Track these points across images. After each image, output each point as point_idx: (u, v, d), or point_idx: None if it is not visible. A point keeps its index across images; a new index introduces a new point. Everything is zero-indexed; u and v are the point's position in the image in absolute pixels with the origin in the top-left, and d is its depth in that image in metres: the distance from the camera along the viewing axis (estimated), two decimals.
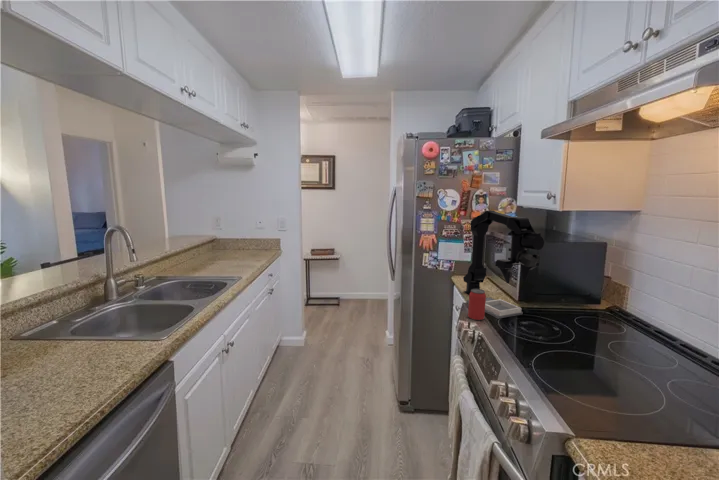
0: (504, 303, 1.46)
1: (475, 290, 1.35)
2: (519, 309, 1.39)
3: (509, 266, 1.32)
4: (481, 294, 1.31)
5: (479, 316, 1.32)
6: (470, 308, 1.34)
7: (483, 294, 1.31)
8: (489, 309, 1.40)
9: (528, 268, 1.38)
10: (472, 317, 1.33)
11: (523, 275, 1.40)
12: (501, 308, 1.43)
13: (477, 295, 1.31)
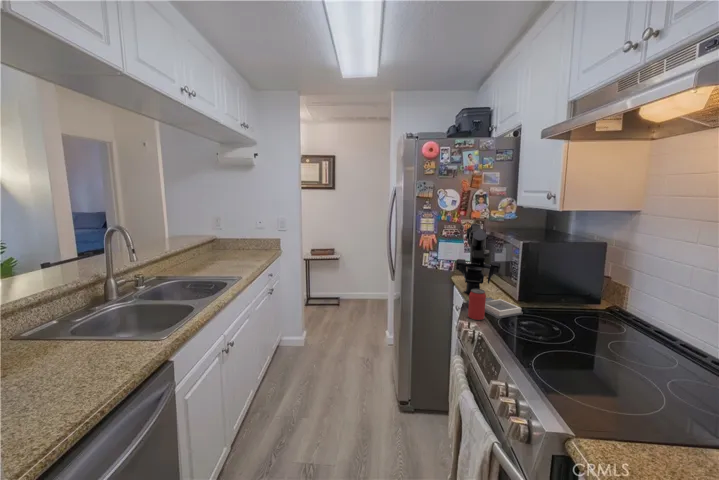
0: (504, 303, 1.46)
1: (475, 290, 1.35)
2: (519, 309, 1.39)
3: (461, 261, 1.45)
4: (481, 294, 1.31)
5: (479, 316, 1.32)
6: (470, 308, 1.34)
7: (483, 294, 1.31)
8: (489, 309, 1.40)
9: (489, 270, 1.42)
10: (472, 317, 1.33)
11: (488, 279, 1.42)
12: (501, 308, 1.43)
13: (477, 295, 1.31)
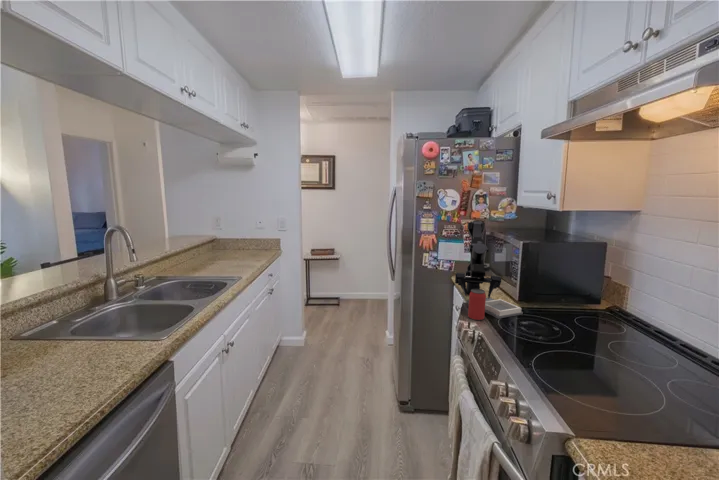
0: (504, 303, 1.46)
1: (475, 290, 1.35)
2: (519, 309, 1.39)
3: (460, 275, 1.39)
4: (481, 294, 1.31)
5: (479, 316, 1.32)
6: (470, 308, 1.34)
7: (483, 294, 1.31)
8: (489, 309, 1.40)
9: (490, 284, 1.36)
10: (472, 317, 1.33)
11: (488, 293, 1.36)
12: (501, 308, 1.43)
13: (477, 295, 1.31)
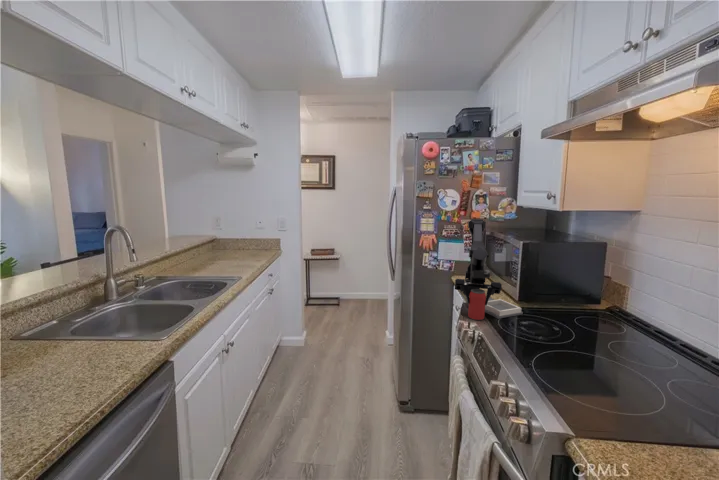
0: (504, 303, 1.46)
1: (475, 290, 1.35)
2: (519, 309, 1.39)
3: (460, 282, 1.37)
4: (481, 294, 1.31)
5: (479, 316, 1.32)
6: (470, 308, 1.34)
7: (483, 294, 1.31)
8: (489, 309, 1.40)
9: (487, 290, 1.34)
10: (472, 317, 1.33)
11: None
12: (501, 308, 1.43)
13: (477, 295, 1.31)
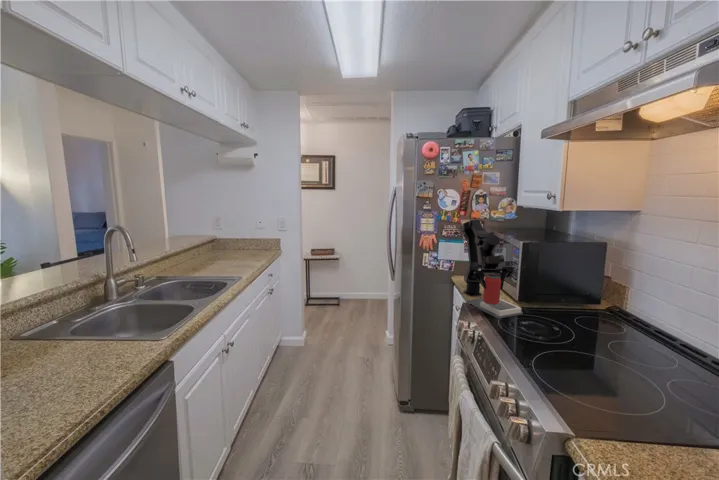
0: (504, 303, 1.46)
1: (490, 275, 1.37)
2: (519, 309, 1.39)
3: (475, 268, 1.38)
4: (498, 279, 1.33)
5: (496, 300, 1.34)
6: (487, 293, 1.35)
7: (499, 279, 1.34)
8: (489, 309, 1.40)
9: (501, 275, 1.37)
10: (489, 302, 1.35)
11: None
12: (501, 308, 1.43)
13: (494, 280, 1.33)
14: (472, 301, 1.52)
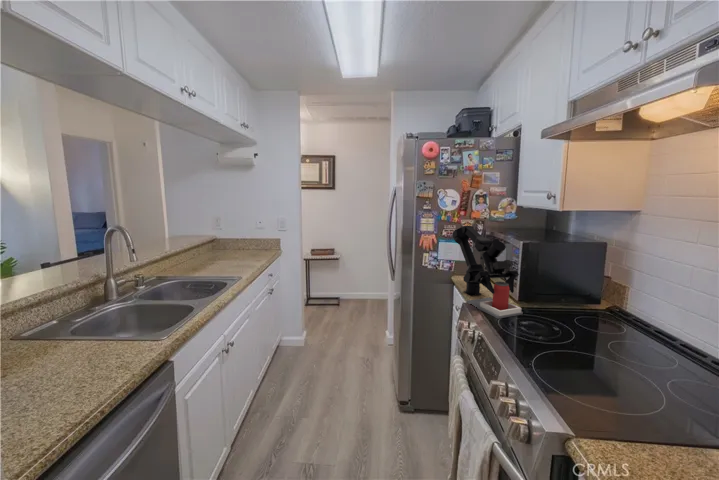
0: None
1: (498, 283, 1.42)
2: (519, 309, 1.39)
3: (485, 274, 1.41)
4: (507, 286, 1.39)
5: (506, 307, 1.40)
6: (497, 301, 1.40)
7: (508, 286, 1.39)
8: (489, 309, 1.40)
9: (510, 279, 1.43)
10: (500, 309, 1.40)
11: (509, 288, 1.43)
12: None
13: (504, 287, 1.38)
14: (472, 301, 1.52)
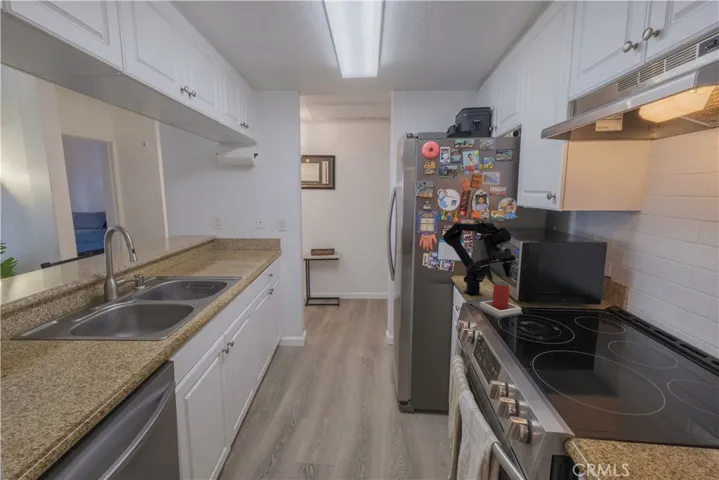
0: None
1: (498, 283, 1.42)
2: (519, 309, 1.39)
3: (486, 263, 1.48)
4: (507, 286, 1.39)
5: (506, 307, 1.40)
6: (497, 301, 1.40)
7: (508, 286, 1.39)
8: (489, 309, 1.40)
9: (507, 264, 1.51)
10: (500, 309, 1.40)
11: (506, 272, 1.52)
12: None
13: (504, 287, 1.38)
14: (472, 301, 1.52)
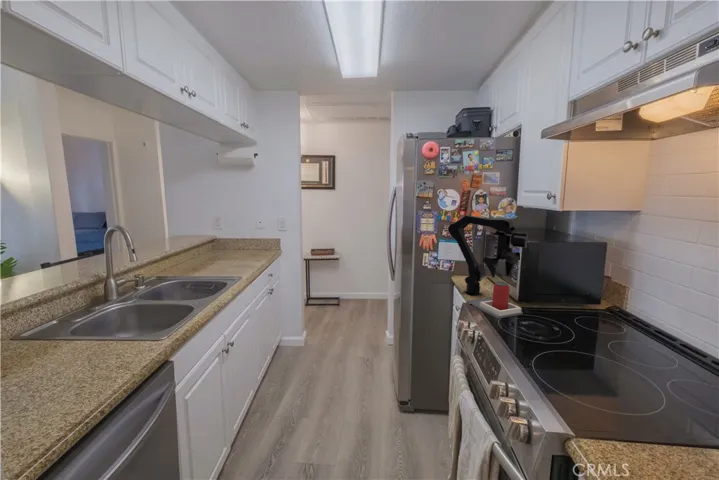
0: None
1: (498, 283, 1.42)
2: (519, 309, 1.39)
3: (495, 262, 1.49)
4: (507, 286, 1.39)
5: (506, 307, 1.40)
6: (497, 301, 1.40)
7: (508, 286, 1.39)
8: (489, 309, 1.40)
9: (511, 264, 1.55)
10: (500, 309, 1.40)
11: (507, 270, 1.57)
12: None
13: (504, 287, 1.38)
14: (472, 301, 1.52)
